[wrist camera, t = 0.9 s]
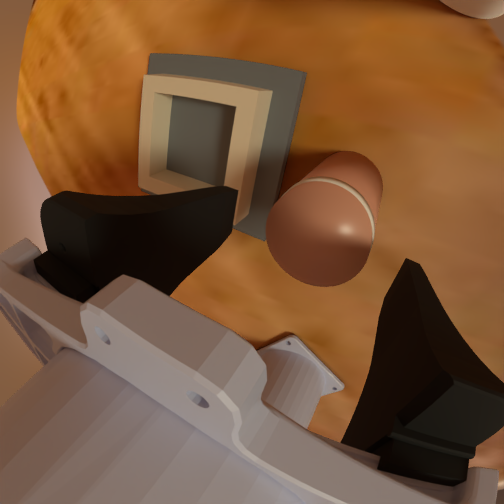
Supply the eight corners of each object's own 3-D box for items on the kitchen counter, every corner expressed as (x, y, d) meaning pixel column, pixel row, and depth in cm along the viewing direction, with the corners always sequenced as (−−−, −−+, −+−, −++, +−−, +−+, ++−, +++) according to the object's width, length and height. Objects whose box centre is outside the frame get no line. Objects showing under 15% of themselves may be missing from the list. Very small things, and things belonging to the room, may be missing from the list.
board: (268, 236, 23) (252, 254, 21) (147, 187, 26) (125, 198, 24) (306, 72, 16) (291, 69, 14) (157, 53, 19) (131, 53, 17)
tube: (345, 231, 20) (312, 303, 14) (300, 180, 20) (244, 229, 13) (397, 192, 17) (393, 253, 11) (349, 135, 17) (317, 162, 11)
